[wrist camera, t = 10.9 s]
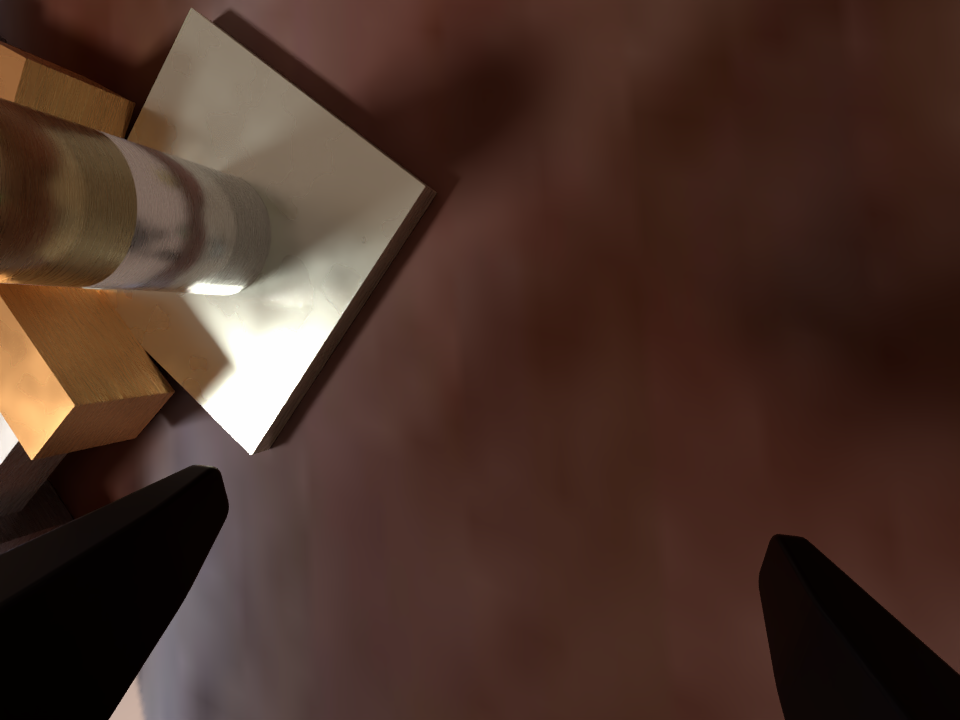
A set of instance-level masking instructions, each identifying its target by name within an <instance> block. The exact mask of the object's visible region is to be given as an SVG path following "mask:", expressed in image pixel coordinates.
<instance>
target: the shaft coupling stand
mask: <svg viewBox="0 0 960 720" xmlns="http://www.w3.org/2000/svg"><path fill="white" fill-rule="evenodd" d="M5 41H6V40H5V39H3V38H1V37H0V98H3V99H6V100H9V101H12V102H15V103H18V104H21V105H24V106H27V107H30V108H33V109H36V110H39V111H42V112H45V113H48V114H51V115H54V116H57V117H60V118H63V119H66V120H69V121H72V122H75V123H78V124H81V125H84V126H87V127H90V128H93V129H96V130H99V131H102V132H105V133H108V134H111V135H114V136H117V137H120V138H123V139H124V138H125V135H126V132H127V129H128V126H129V123H130V120H131V116H132V113H133V110H134V107H135V103H134V102H132V101H130V100H128V99H126V98H124V97H122V96H120V95H118V94H117V93H115V92H113V91H111V90H109V89H107V88H105V87H103V86H101V85H100V84H98V83H96V82H94V81H92V80H90V79H88V78H86V77H84V76H82V75H80V74H77V73H75V72H73V71H70V70H68V69H65V68H63V67H61V66H58V65H56V64H54V63H51V62H49V61H47V60H44V59H42V58H40V57H37V56H35V55H32V54H30V53H28V52H25V51H23V50H21V49H18V48H16V47H14V46H11V45H9V44H7V43H5ZM127 140H128V141H131V142H134V143H137V144H140V145H143V146H146V147H149V148H152V149H155V150H158V151H161V152H164V153H167V154H170V155H173V156H176V157H179V158H182V159H185V160H188V161H191V162H194V163H197V164H200V165H203V166H206V167H209V168H212V169H215V170H218V171H221V172H224V173H227V174H230V175H233V176H236V177H239V178H241V179H243V180H245V181H246V182H247V183H249V184H250V185H251V186H252V187H253V188H254V189H255V190H256V191H257V192H258V194H259V195H260V197H261V198H262V200H263V202H264V204H265V206H266V208H267V212H268V215H269V219H270V224H271V244H270V250H269V254H268V257H267V260H266V263H265V265H264V267H263V269H262V271H261V272H260V274H259V275H258V277H257V278H256V279H255V280H254V281H253V282H252V283H251V284H250V285H249V286H248V287H246V288H244V289H243V290H241V291H239V292H237V293H233V294H229V295H213V294H195V293H177V292H159V291H141V290H123V289H104V288H86V287H82V288H68V287H52V286H35V285H19V284H2V283H0V554H2V553H4V552H6V551H8V550H11V549H13V548H15V547H17V546H19V545H21V544H24V543H26V542H28V541H30V540H32V539H34V538H37V537H39V536H41V535H43V534H45V533H47V532H49V531H52V530H54V529H56V528H58V527H60V526H62V525H65V524H67V523H69V522H71V521H73V520H74V519H73V518H72V516H71V515H70V513H69V512H68V510H67V509H66V507H65V505H64V504H63V502H62V501H61V499H60V498H59V496H58V495H57V493H56V492H55V490H54V489H53V487H52V486H51V484H50V482H49V481H48V479H47V478H48V477H49V476H50V474H51V473H52V472H53V471H54V469H55V468H56V467H57V466H58V464H59V463H60V462H61V461H62V459H63V458H64V457H65V456H66V455H67V453H69V452H74V451H78V450H83V449H88V448H92V447H97V446H102V445H106V444H111V443H116V442H120V441H125V440H130V439H134V438H136V437H137V436H138V435H139V433H140V432H141V431H142V430H143V429H144V428H145V426H146V425H147V424H148V423H149V422H150V420H151V419H152V418H153V417H154V416H155V415H156V413H157V412H158V411H159V410H160V409H161V408H162V406H163V405H164V404H165V403H166V402H167V401H168V399H169V398H170V397H171V396H172V395H173V394H174V392H175V391H174V389H173V388H172V387H171V385H170V384H169V383H168V381H167V380H166V378H165V377H164V376H163V374H162V373H161V372H160V370H159V369H158V367H157V366H156V365H155V363H154V362H153V361H152V359H151V358H150V356H149V355H148V354H147V352H148V353H149V354H150V355H151V356H152V357H153V358H154V359H155V360H156V361H157V362H158V363H159V364H160V365H161V366H162V367H163V368H164V369H165V370H166V371H167V372H168V373H169V374H170V375H171V376H172V377H173V378H174V379H175V380H176V381H177V382H178V383H179V384H180V385H181V386H182V387H183V388H184V389H185V390H186V391H187V392H188V393H189V394H190V395H191V396H192V397H193V398H194V399H195V400H196V401H197V402H198V403H199V404H200V405H201V406H202V407H203V408H204V409H205V410H206V411H207V412H208V413H209V414H210V415H211V416H212V417H213V418H214V419H215V420H216V421H217V422H218V423H219V424H220V425H221V426H222V427H223V428H224V429H225V430H227V431H228V432H229V433H230V434H231V435H232V436H233V437H234V438H235V439H236V440H237V441H238V442H239V443H240V444H241V445H242V446H243V447H244V448H245V449H246V450H247V451H248V452H249V453H250V454H251V455H253V454H256V453H259V452H262V451H266V450H269V449H270V447H271V446H272V444H273V442H274V441H275V439H276V438H277V436H278V435H279V433H280V432H281V430H282V429H283V427H284V426H285V424H286V423H287V421H288V420H289V418H290V417H291V415H292V414H293V412H294V410H295V409H296V407H297V406H298V404H299V403H300V401H301V400H302V398H303V397H304V395H305V394H306V392H307V391H308V389H309V388H310V386H311V385H312V383H313V382H314V380H315V378H316V377H317V375H318V374H319V372H320V371H321V369H322V368H323V366H324V365H325V363H326V362H327V360H328V359H329V357H330V356H331V354H332V353H333V351H334V350H335V348H336V346H337V345H338V343H339V342H340V340H341V339H342V337H343V336H344V334H345V333H346V331H347V330H348V328H349V327H350V325H351V324H352V322H353V321H354V319H355V318H356V316H357V315H358V313H359V311H360V310H361V308H362V307H363V305H364V304H365V302H366V301H367V299H368V298H369V296H370V295H371V293H372V292H373V290H374V289H375V287H376V286H377V284H378V283H379V281H380V279H381V278H382V276H383V275H384V273H385V272H386V270H387V269H388V267H389V266H390V264H391V263H392V261H393V260H394V258H395V257H396V255H397V254H398V252H399V251H400V249H401V247H402V246H403V244H404V243H405V241H406V240H407V238H408V237H409V235H410V234H411V232H412V231H413V229H414V228H415V226H416V225H417V223H418V222H419V220H420V219H421V217H422V215H423V214H424V212H425V211H426V209H427V208H428V206H429V205H430V203H431V202H432V200H433V199H434V197H435V196H436V194H437V192H435V191H434V190H433V189H431V188H430V187H429V186H428V185H426V184H425V183H424V182H422V181H421V180H420V179H418V178H417V177H416V176H414V175H413V174H412V173H410V172H409V171H408V170H407V169H405V168H404V167H403V166H401V165H400V164H399V163H397V162H396V161H395V160H393V159H392V158H391V157H389V156H388V155H387V154H386V153H384V152H383V151H382V150H380V149H379V148H378V147H376V146H375V145H374V144H372V143H371V142H370V141H368V140H367V139H366V138H365V137H363V136H362V135H361V134H359V133H358V132H357V131H355V130H354V129H353V128H351V127H350V126H349V125H347V124H346V123H345V122H344V121H342V120H341V119H340V118H338V117H337V116H336V115H334V114H333V113H332V112H330V111H329V110H328V109H326V108H325V107H324V106H323V105H321V104H320V103H319V102H317V101H316V100H315V99H313V98H312V97H311V96H309V95H308V94H307V93H305V92H304V91H303V90H301V89H300V88H299V87H298V86H296V85H295V84H294V83H292V82H291V81H290V80H288V79H287V78H286V77H284V76H283V75H282V74H280V73H279V72H278V71H277V70H275V69H274V68H273V67H271V66H270V65H269V64H267V63H266V62H265V61H263V60H262V59H261V58H259V57H258V56H257V55H256V54H254V53H253V52H252V51H250V50H249V49H248V48H246V47H245V46H244V45H242V44H241V43H240V42H238V41H237V40H236V39H235V38H233V37H232V36H231V35H229V34H228V33H227V32H225V31H224V30H223V29H221V28H220V27H219V26H217V25H216V24H215V23H214V22H212V21H211V20H209V19H208V18H206V17H205V16H203V15H202V14H200V13H199V12H197V11H196V10H194V9H193V8H191V9H190V11H189V13H188V15H187V17H186V19H185V21H184V23H183V25H182V28H181V30H180V32H179V34H178V36H177V38H176V40H175V42H174V44H173V46H172V48H171V50H170V52H169V54H168V56H167V58H166V60H165V63H164V65H163V67H162V69H161V71H160V73H159V75H158V77H157V79H156V81H155V83H154V85H153V87H152V89H151V91H150V93H149V96H148V98H147V100H146V102H145V104H144V106H143V108H142V110H141V112H140V114H139V116H138V118H137V120H136V122H135V124H134V126H133V128H132V131H131V133H130V135H129V137H128V139H127ZM145 350H146V351H147V352H146V351H145Z"/></svg>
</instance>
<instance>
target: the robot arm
mask: <svg viewBox="0 0 960 720" xmlns="http://www.w3.org/2000/svg"><path fill="white" fill-rule="evenodd" d="M228 510H229V503H228V498H227V494H226V491H225V487H224V483H223V479H222V475H221V472H220V471H219V470H218V468H216V467H212V466H204V465H192V466H189V467H187V468H185V469H183V470H181V471H179V472H177V473H174V474H172V475H170V476H168V477H166V478H164V479H161V480H159V481H157V482H155V483H153V484H151V485H149V486H146V487H144V488H142V489H140V490H138V491H136V492H133V493H131V494H129V495H127V496H125V497H123V498H121V499H118V500H116V501H114V502H112V503H110V504H108V505H105V506H103V507H101V508H99V509H97V510H95V511H93V512H90V513H88V514H86V515H84V516H82V517H80V518H77V519H75V520H73V521H71V522H69V523H67V524H65V525H62V526H60V527H58V528H56V529H54V530H52V531H49V532H47V533H45V534H43V535H41V536H39V537H37V538H34V539H32V540H30V541H28V542H26V543H24V544H21V545H19V546H17V547H15V548H13V549H11V550H8V551H6V552H4V553H2V554H0V720H109V718H110V717H111V715H112V714H113V712H114V711H115V709H116V707H117V706H118V704H119V703H120V701H121V699H122V698H123V696H124V695H125V693H126V692H127V690H128V688H129V687H130V685H131V684H132V682H133V681H134V679H135V677H136V676H137V674H138V673H139V671H140V670H141V668H142V666H143V665H144V663H145V662H146V660H147V658H148V657H149V655H150V654H151V652H152V651H153V649H154V647H155V646H156V644H157V643H158V641H159V640H160V638H161V636H162V635H163V633H164V632H165V630H166V628H167V627H168V625H169V624H170V622H171V621H172V619H173V617H174V616H175V614H176V613H177V611H178V609H179V608H180V606H181V604H182V603H183V601H184V599H185V598H186V596H187V594H188V592H189V590H190V589H191V587H192V585H193V583H194V581H195V579H196V577H197V575H198V573H199V571H200V569H201V567H202V565H203V563H204V561H205V559H206V557H207V555H208V553H209V551H210V549H211V547H212V545H213V544H214V542H215V540H216V538H217V536H218V534H219V532H220V530H221V528H222V526H223V524H224V522H225V520H226V517H227V514H228ZM759 591H760V597H761V603H762V608H763V614H764V620H765V626H766V631H767V637H768V643H769V648H770V654H771V660H772V666H773V671H774V677H775V682H776V687H777V692H778V695H779V699H780V703H781V707H782V711H783V714H784V717H785V720H960V675H959V674H958V673H957V672H956V671H955V670H954V669H952V668H951V667H950V666H949V665H948V664H947V663H946V662H945V661H943V660H942V659H941V658H940V657H939V656H938V655H937V654H936V653H934V652H933V651H932V650H931V649H930V648H929V647H928V646H926V645H925V644H924V643H923V642H922V641H921V640H920V639H919V638H917V637H916V636H915V635H914V634H913V633H912V632H911V631H910V630H908V629H907V628H906V627H905V626H904V625H903V624H902V623H901V622H899V621H898V620H897V619H896V618H895V617H894V616H893V615H892V614H890V613H889V612H888V611H887V610H886V609H885V608H884V607H882V606H881V605H880V604H879V603H878V602H877V601H876V600H875V599H873V598H872V597H871V596H870V595H869V594H868V593H867V592H866V591H864V590H863V589H862V588H861V587H860V586H859V585H858V584H857V583H855V582H854V581H853V580H852V579H851V578H850V577H849V576H848V575H846V574H845V573H844V572H843V571H842V570H841V569H840V568H838V567H837V566H836V565H835V564H834V563H833V562H832V561H831V560H829V559H828V558H827V557H826V556H825V555H824V554H823V553H822V552H820V551H819V550H818V549H817V548H816V547H815V546H814V545H813V544H811V543H810V542H809V541H808V540H806V539H805V538H803V537H799V536H791V535H783V534H776V535H774V536H773V537H772V538H771V540H770V542H769V545H768V548H767V551H766V554H765V557H764V561H763V564H762V567H761V570H760V573H759Z"/></svg>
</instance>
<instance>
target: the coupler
mask: <svg viewBox="0 0 960 720" xmlns="http://www.w3.org/2000/svg"><path fill="white" fill-rule="evenodd" d="M270 244H271V224H270V219H269V215H268V212H267V208H266V206H265V204H264V202H263V200H262V198H261V197H260V195H259V194H258V192H257V191H256V190H255V189H254V188H253V187H252V186H251V185H250V184H249V183H247V182H246V181H245V180H243V179H241V178H239V177H236V176H233V175H230V174H227V173H224V172H221V171H218V170H215V169H212V168H209V167H206V166H203V165H200V164H197V163H194V162H191V161H188V160H185V159H182V158H179V157H176V156H173V155H170V154H167V153H164V152H161V151H158V150H155V149H152V148H149V147H146V146H143V145H140V144H137V143H134V142H131V141H128V140H125V139H123V138H120V137H117V136H114V135H111V134H108V133H105V132H102V131H99V130H96V129H93V128H90V127H87V126H84V125H81V124H78V123H75V122H72V121H69V120H66V119H63V118H60V117H57V116H54V115H51V114H48V113H45V112H42V111H39V110H36V109H33V108H30V107H27V106H24V105H21V104H18V103H15V102H12V101H9V100H6V99H3V98H0V283H14V284H32V285H50V286H68V287H86V288H104V289H123V290H141V291H159V292H177V293H195V294H213V295H229V294H233V293H237V292H239V291H241V290H243V289H244V288H246V287H248V286H249V285H250V284H251V283H252V282H253V281H254V280H255V279H256V278H257V277H258V275H259V274H260V272H261V271H262V269H263V267H264V265H265V263H266V260H267V257H268V254H269V250H270Z"/></svg>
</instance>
